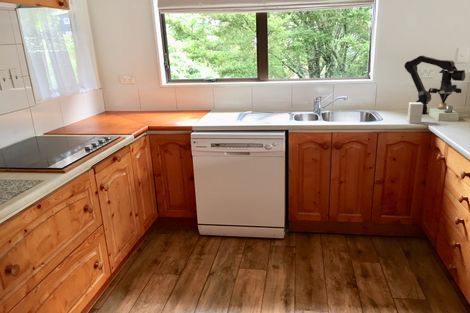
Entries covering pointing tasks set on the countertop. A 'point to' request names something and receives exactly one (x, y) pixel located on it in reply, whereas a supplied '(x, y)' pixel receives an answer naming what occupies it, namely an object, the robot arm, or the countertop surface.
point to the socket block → (443, 115)
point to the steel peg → (449, 109)
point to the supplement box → (415, 112)
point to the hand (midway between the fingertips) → (443, 103)
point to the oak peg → (442, 106)
